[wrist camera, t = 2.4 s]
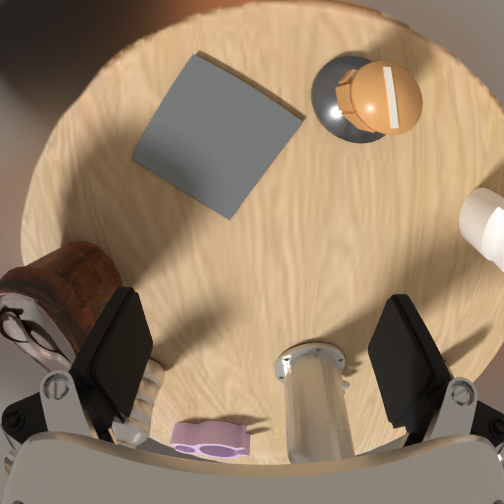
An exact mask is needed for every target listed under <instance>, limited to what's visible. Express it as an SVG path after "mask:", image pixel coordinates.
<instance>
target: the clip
mask: <svg viewBox="0 0 504 504" xmlns="http://www.w3.org/2000/svg"><path fill="white" fill-rule="evenodd" d="M170 446H176V447H175V450H176V451H179V452H182V453H187V454H201V455H206V456H210V457H215V458H237V457H240V456H245V457H248V456H249V453H250V434H247V433H246V425H245V424H242V425H236V424H233V423H229V422H224V421H204V422H201V423H198V424H192V423H186V422H177V423H175V424H174V428H173V432H172V437H171V442H170Z"/></svg>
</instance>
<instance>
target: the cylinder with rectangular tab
mask: <svg viewBox="0 0 504 504" xmlns="http://www.w3.org/2000/svg"><path fill="white" fill-rule="evenodd" d="M459 229H460V232H461V235H462V236H463V238H464V239H465V240H466V241H467V242H469V243H470V244H471V245H472V246H473V247H474V248H475V249H476V250H478V251H479V252H480V253H481V254H482V255H483V256H484V257H485V258H486V259H488V260H489V261H493V262H494V263H495V264H496V265H497V266H498V267H499V268H500V269H501V270H502V271H503V272H504V198H503V197H501V196H500V195H498V194H496V193H494V192H493V191H491V190H489V189H487V188H478V189H476V190H474V191H473V192H472V193H471V194H470V195H469V196H468V197H467V199H466V200H465V202H464V204H463V206H462V209H461V212H460V218H459Z"/></svg>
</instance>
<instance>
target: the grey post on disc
mask: <svg viewBox="0 0 504 504" xmlns="http://www.w3.org/2000/svg"><path fill="white" fill-rule="evenodd" d="M369 63H372V61H370V60H367V59H364V58H361V57H355V56H345V57H340V58H337V59H335V60H333V61H331V62H329V63H328V64H326V65H325V66H324V67H323V68H322V69H321V70H320V71H319V72H318V73H317V75H316V77H315V79H314V81H313V84H312V89H311V101H312V106H313V109H314V112H315V114H316V116H317V118H318V120H319V121H320V122H321V124H322V125H323V126H324V127H325V128H326V129H327V130H328V131H329V132H330V133H332V134H333V135H335V136H337V137H339V138H341V139H343V140H346V141H349V142H353V143H370V142H373V141H376V140H378V139H380V138H382V137H383V136H385V135H386V134H384V133H380V132H377V131H375V132H374V133H373V132H369V131H365V130H360V129H358V128H357V127H356V126H354V125H353V124H352V123H351V122H350V121H349V120H348V119H346V118H345V117H344V116H343V115H342V114H340V113H341V112H342V111H339V108H338V101H337V95H336V89H335V88H336V87H340V86H342V85H341V84H339V83H338V82H339V81H340V80H341V79H342V77H343V76H344V75H345V74H346V72H347V71H350V70H352V69H355V70H356V71H354V72H353V74H352V75H351V76H350V77H349V79H350V80H352V78H353V76H354V74H355V73H356V72H357V71H358V70H359V69H360V68H361V67H363V66H364V65H366V64H369Z"/></svg>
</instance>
